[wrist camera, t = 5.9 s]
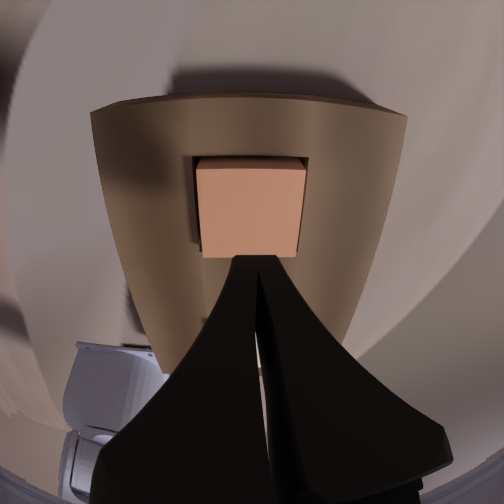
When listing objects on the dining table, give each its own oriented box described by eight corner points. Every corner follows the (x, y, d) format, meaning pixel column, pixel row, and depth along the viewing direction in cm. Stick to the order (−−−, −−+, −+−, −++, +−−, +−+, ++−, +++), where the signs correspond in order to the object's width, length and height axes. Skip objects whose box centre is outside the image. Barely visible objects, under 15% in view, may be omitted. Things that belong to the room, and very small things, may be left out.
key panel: (167, 342, 24) (162, 373, 22) (118, 101, 13) (90, 112, 10) (322, 339, 25) (329, 370, 22) (376, 104, 13) (407, 116, 10)
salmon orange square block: (208, 223, 16) (203, 257, 14) (204, 148, 14) (196, 169, 11) (286, 223, 16) (295, 257, 14) (292, 148, 14) (306, 170, 11)
